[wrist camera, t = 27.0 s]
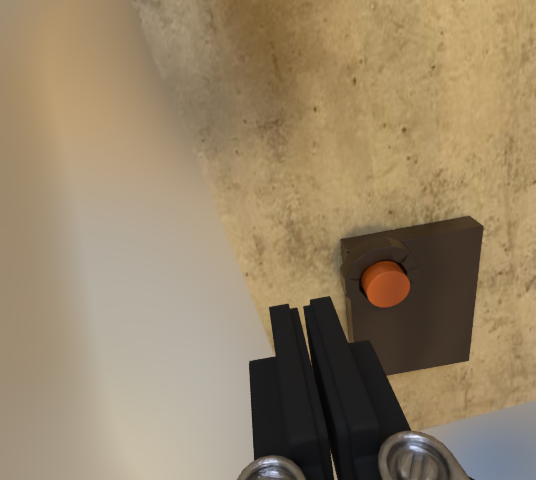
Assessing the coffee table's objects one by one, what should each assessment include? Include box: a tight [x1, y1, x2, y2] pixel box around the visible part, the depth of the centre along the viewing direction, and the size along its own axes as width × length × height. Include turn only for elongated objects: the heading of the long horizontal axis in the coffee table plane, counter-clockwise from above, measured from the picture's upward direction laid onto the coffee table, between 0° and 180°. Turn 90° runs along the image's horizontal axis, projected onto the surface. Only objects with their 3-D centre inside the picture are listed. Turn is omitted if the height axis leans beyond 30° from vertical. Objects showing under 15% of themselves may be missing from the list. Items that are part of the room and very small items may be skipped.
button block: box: [340, 216, 483, 376], centre depth 38 cm, size 13×17×4 cm
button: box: [361, 261, 410, 307], centre depth 33 cm, size 4×4×2 cm
